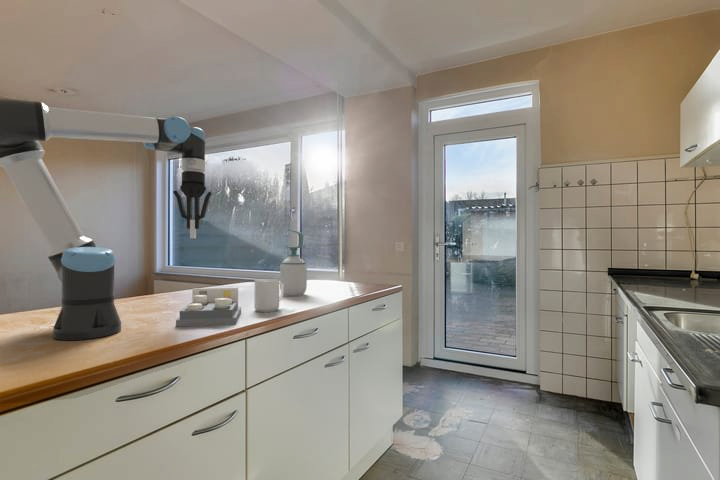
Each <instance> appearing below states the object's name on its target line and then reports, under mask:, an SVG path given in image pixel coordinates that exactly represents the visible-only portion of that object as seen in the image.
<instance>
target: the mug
mask: <svg viewBox="0 0 720 480" xmlns="http://www.w3.org/2000/svg"><path fill="white" fill-rule="evenodd" d="M280 284H281V290H280ZM284 296H285V295H284V283H280V279H279V278H276V279H275V278H260V279H254V299H253V300H254V306H253V307H254V309H255V311H257V312H259V313H271V312H277V310H278V309H279V308H280V302H281V300H283V298H284Z"/></svg>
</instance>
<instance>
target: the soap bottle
mask: <svg viewBox="0 0 720 480" xmlns="http://www.w3.org/2000/svg"><path fill="white" fill-rule="evenodd" d="M288 231H291V232H293V233H296V234H297V236H298V246H287V247H286V249H289V251H291V252H290V253H291V254H288V255H287V258H286V259H283V261H282V262H281V263H280V267H279V272H280V273H279V283H284V295H283V296H285V295H286V296H285V297H301V296H303V295H304V294H305V293H306V291H307V283H308V278H307V276H308V275H307V274H308V273H307V272H308V271H307V270H308V268H307V267H308V265H307V262H306V261H304V259H302V258H301V257H300V254H297V251H298V249H301V248H303V243H304V242H303V240H304V239H303V236H304V235H303V232H301V231H298V230H297V229H296V230H295V229H292V228H288ZM279 291H281V284H279ZM300 295H301V296H300Z"/></svg>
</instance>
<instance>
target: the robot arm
mask: <svg viewBox="0 0 720 480" xmlns="http://www.w3.org/2000/svg"><path fill="white" fill-rule="evenodd" d="M51 138H57V139H58V138H59V139H60V138H61V139H62V138H63V139H77V140H78V139H81V140H93V141H94V140H96V141H99V140H100V141H112V142H113V141H114V142H132V143H142V144H143V147H144V148H146V149H148V150H153V151H159V152H160V151H161V152H167V153H172V154H173V153H175V154H181V171H182V172H181V185H180V188H179V189H178V188H177V190H173V191H172V193H173V194H174V196H175V197H176V202H177V204H178V205H177V206H178V209H179V212H180V213H179V214H180V216H181V218H183V219H185V220H186V228H187V229H188V230H189V239H197V230H199V228H200V220H202V219H205V217H206V214H207V209H208V206H209V202H210V199H211V198H212V197H213V194H214V193H213V192H211V191H210V190H207V186H206V174H205V172H206V134H205V131H204V130H203V129H201V127H196V126H190V124H189V122H187V120H186V119H185V118H183V117H180V116H171V117H168V118H163V117H152V116H151V117H150V116H142V115H133V114H132V115H130V114H121V113H112V112H110V113H109V112H103V111H102V112H101V111H93V110H92V111H91V110H83V109H82V110H80V109H73V108H72V109H71V108H61V107H53V106H52V107H51V106H48V105H46V104H45V103H43V102H42V101H36V100H35V101H34V100H33V101H32V100H25V99H16V98H7V97H0V168H3V170H4V171H5V173H6V175H7V176H8V178H9V179H10V181H11V183H12V185H13V186H14V188H15V190H16V191H17V194H18V195H19V197H20V199H21V200H22V202H23V204H24V205H25V207H26V209H27V211H28V212H29V214H30V216H31V218H32V219H33V221H34V223H35V224H36V226H37V228H38V229H39V232H41V235H42V237H43V238H44V240H45V242H46V243H47V245H48V247H49V251H48V253H47V255H46V256H47V258H48V260H49V261H50V263H51V265H52V267H53V268H54V270H55V272H56V274H57V277H58V279H59V280H60V282H61V308H60V310H59V313H58V315H57V318H56V321H55V324H54V326H53V327H52V338H53V339H54V340H59V341H79V340H80V341H81V340H89V339H97V338H103V337H106V336H110V335H114V334H117V333H119V332H121V331H122V321H121V318H120V315H119V313H118V309H117V308H116V305H115V264H116V259H115V254H114V251H113V250H111V249H110V248H106V247H98V246H97V245H96V244H95V241H94V240H93V239H92V238H89V237H87V236H85V235H84V234H83V232H82V230H81V229H80V226H79V225H78V223H77V221H76V219H75V217H74V216H73V214H72V211H70V208H69V206H68V205H67V203H66V201H65V199H64V197H63V195H62V194H61V192H60V190H59V188H58V186H57V185H56V183H55V181H54V179H53V177H52V176H51V173H50V172H49V170H48V168H47V166H46V164H45V162H44V161H43V157H44V155H45V153H46V152H45V151H46V150H45V149H44V148H43V146H42V143H41V142H42V141H43V142H47V141H49V139H51ZM182 195H185V198H186V209H185V205H184V202H183V197H182ZM203 195H204V200H203V202H202V206H200V202H201V201H200V200H201V197H202V196H203ZM193 200H194V218H193ZM200 207H202V208H201V210H200Z"/></svg>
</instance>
